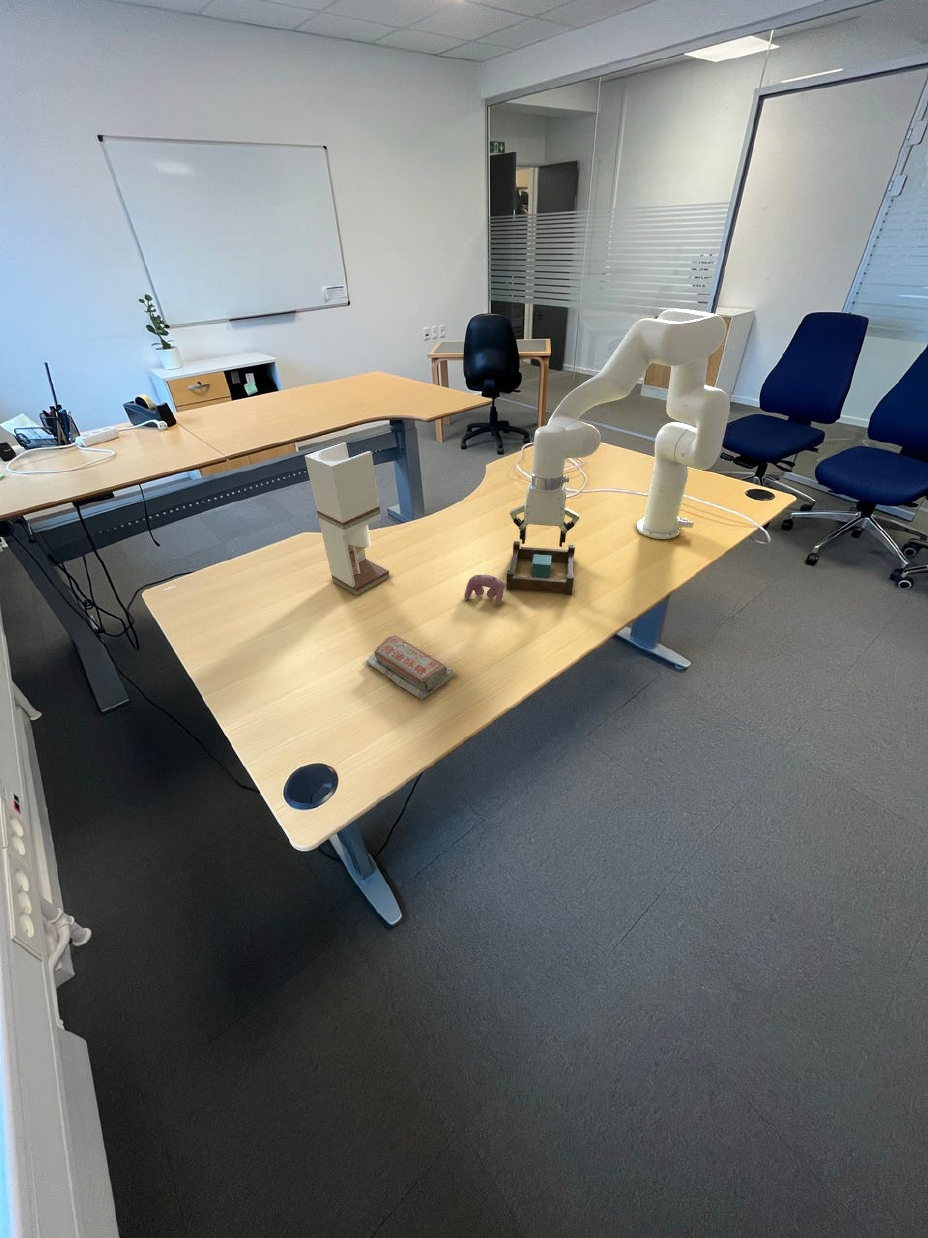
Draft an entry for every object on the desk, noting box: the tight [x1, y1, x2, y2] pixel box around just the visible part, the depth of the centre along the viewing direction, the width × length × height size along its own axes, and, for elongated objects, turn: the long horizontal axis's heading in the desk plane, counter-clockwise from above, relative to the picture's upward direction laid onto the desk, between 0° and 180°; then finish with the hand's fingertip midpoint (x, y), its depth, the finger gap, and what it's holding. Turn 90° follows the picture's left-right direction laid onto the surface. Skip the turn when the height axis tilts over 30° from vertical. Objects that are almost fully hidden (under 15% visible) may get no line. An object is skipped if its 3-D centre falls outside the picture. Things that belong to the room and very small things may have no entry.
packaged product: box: [365, 634, 454, 701], centre depth 112 cm, size 18×5×10 cm
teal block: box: [531, 554, 552, 579], centre depth 140 cm, size 5×5×5 cm
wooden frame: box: [505, 540, 576, 596], centre depth 140 cm, size 17×17×5 cm
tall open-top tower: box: [304, 441, 390, 596], centre depth 132 cm, size 11×11×35 cm
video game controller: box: [464, 574, 506, 607], centre depth 132 cm, size 10×5×7 cm, turn 71°
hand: (542, 543), depth 135 cm, fingers open, 9 cm apart
